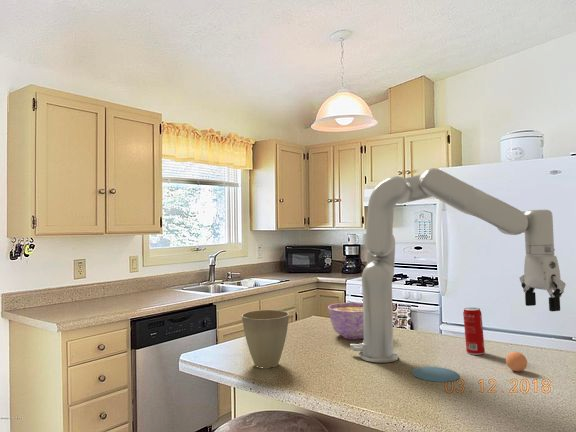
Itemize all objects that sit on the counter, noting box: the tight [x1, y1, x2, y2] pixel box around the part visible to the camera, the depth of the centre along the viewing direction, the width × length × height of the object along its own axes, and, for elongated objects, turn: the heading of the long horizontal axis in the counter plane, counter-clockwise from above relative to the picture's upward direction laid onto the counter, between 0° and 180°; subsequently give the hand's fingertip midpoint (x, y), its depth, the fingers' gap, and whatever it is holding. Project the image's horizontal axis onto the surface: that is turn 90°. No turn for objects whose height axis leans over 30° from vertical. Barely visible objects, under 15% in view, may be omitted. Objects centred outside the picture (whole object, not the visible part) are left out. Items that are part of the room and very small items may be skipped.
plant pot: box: [241, 309, 290, 369], centre depth 143 cm, size 15×15×16 cm
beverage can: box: [462, 307, 486, 356], centre depth 153 cm, size 6×6×15 cm
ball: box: [505, 351, 528, 372], centre depth 134 cm, size 6×6×6 cm
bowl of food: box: [327, 302, 364, 340], centre depth 177 cm, size 20×20×12 cm
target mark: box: [411, 366, 460, 383], centre depth 132 cm, size 13×13×1 cm
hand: (542, 308), depth 135 cm, fingers open, 9 cm apart
